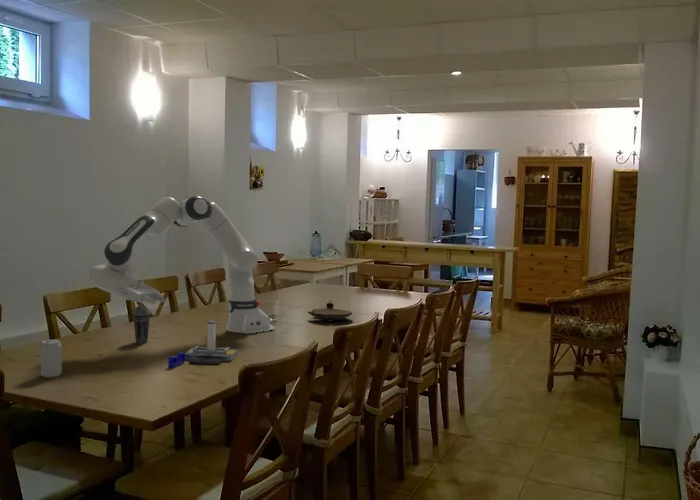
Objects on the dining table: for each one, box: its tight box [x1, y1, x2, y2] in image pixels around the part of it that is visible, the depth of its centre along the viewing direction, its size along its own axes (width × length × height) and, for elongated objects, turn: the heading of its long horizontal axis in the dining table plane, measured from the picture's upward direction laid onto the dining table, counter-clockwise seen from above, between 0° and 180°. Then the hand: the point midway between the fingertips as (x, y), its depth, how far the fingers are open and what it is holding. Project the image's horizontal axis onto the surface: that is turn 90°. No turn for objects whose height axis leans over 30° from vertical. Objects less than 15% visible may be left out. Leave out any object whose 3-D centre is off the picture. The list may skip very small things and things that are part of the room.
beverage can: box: [40, 339, 63, 379], centre depth 221 cm, size 6×6×12 cm
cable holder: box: [168, 352, 186, 369], centre depth 240 cm, size 8×4×4 cm, turn 165°
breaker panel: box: [184, 345, 239, 362], centre depth 253 cm, size 18×12×4 cm, turn 87°
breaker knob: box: [207, 320, 217, 351], centre depth 253 cm, size 2×3×12 cm
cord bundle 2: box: [188, 359, 223, 365], centre depth 243 cm, size 12×3×1 cm, turn 87°
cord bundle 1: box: [203, 345, 232, 349], centre depth 263 cm, size 12×3×1 cm, turn 87°
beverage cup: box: [132, 302, 152, 344], centre depth 273 cm, size 7×7×20 cm
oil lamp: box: [307, 299, 353, 321], centre depth 337 cm, size 22×30×8 cm
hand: (159, 301), depth 256 cm, fingers open, 8 cm apart
